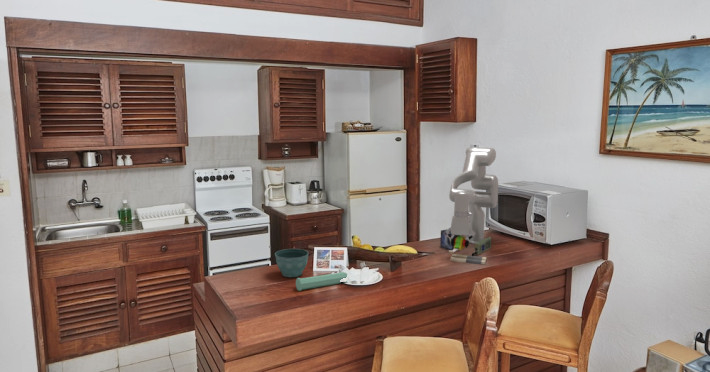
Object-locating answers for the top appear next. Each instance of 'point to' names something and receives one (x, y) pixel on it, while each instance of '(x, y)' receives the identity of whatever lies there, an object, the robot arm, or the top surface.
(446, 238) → the small box
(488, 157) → the robot arm
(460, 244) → the toy measuring tape
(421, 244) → the top surface
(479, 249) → the handheld radio
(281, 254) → the flower pot
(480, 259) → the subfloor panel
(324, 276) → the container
